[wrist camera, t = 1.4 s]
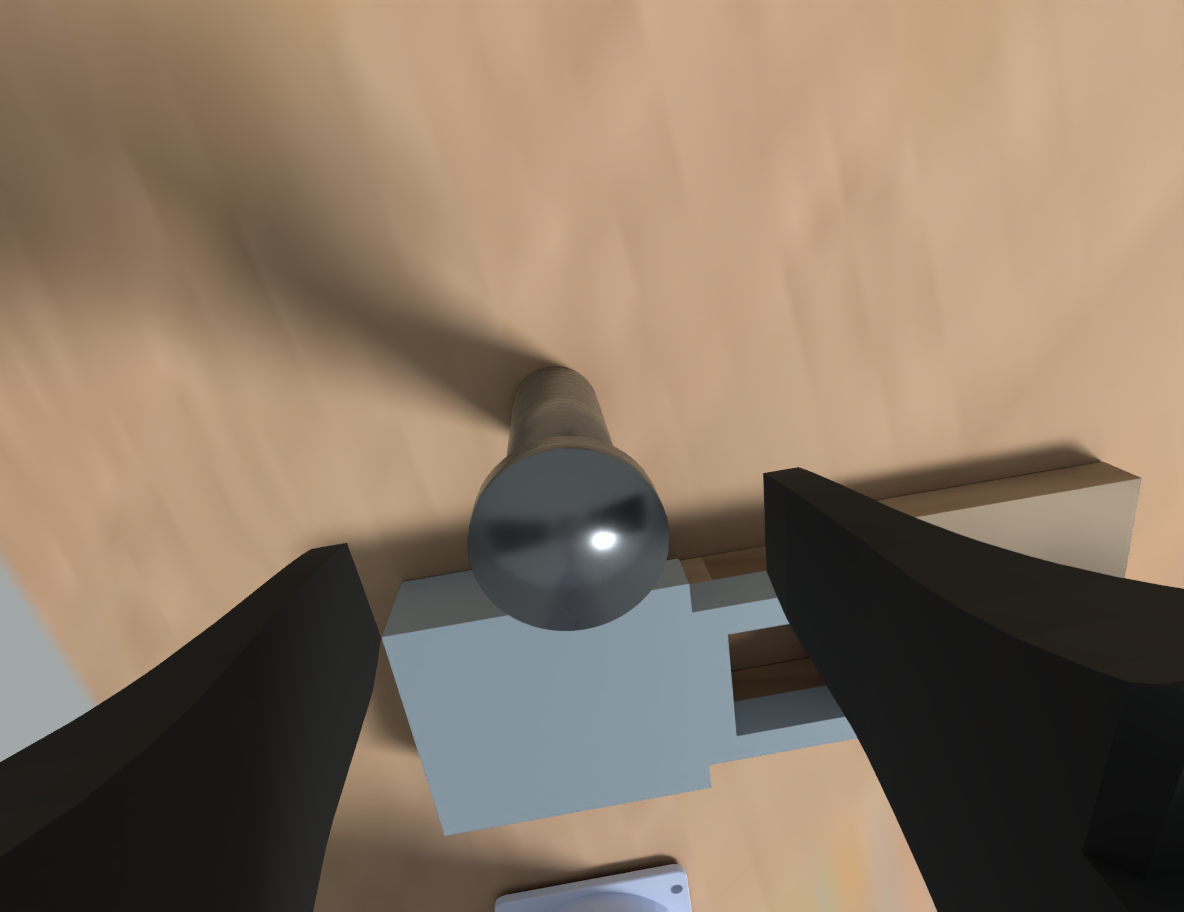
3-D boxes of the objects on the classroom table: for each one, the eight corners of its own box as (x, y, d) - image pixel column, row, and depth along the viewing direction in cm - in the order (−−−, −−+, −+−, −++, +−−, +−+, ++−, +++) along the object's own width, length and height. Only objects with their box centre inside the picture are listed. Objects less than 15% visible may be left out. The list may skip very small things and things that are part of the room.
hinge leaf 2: (1074, 653, 25) (1107, 679, 23) (691, 721, 24) (700, 752, 23) (1103, 461, 22) (1141, 478, 21) (669, 536, 22) (678, 558, 20)
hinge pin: (621, 453, 20) (678, 613, 12) (508, 472, 20) (490, 645, 12) (605, 340, 19) (658, 434, 11) (485, 360, 19) (446, 470, 11)
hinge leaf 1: (846, 693, 25) (885, 755, 22) (455, 764, 24) (445, 836, 21) (844, 505, 22) (890, 548, 19) (401, 582, 21) (381, 637, 19)
